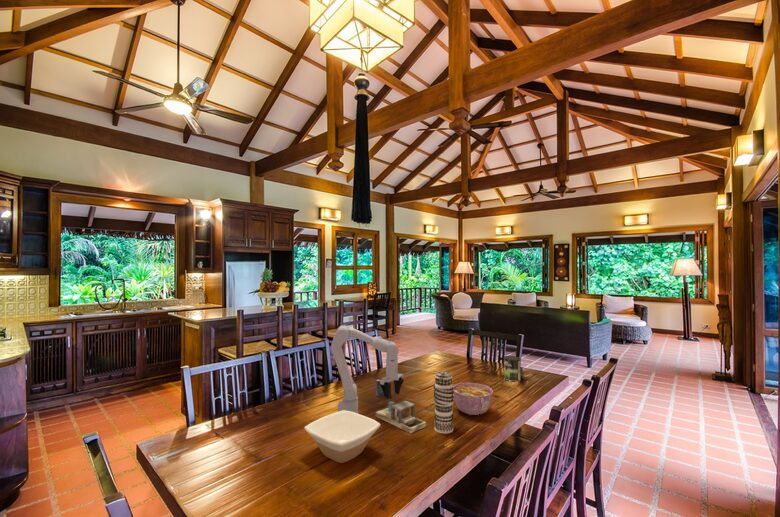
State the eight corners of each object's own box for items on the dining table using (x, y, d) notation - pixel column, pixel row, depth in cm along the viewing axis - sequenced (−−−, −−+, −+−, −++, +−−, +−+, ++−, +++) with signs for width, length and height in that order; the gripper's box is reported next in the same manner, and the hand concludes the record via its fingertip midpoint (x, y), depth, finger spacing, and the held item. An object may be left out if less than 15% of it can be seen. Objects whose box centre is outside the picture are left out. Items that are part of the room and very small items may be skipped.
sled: (405, 423, 159) (405, 412, 159) (385, 413, 169) (385, 403, 170) (415, 419, 163) (415, 408, 163) (394, 410, 174) (394, 400, 174)
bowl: (343, 432, 155) (343, 407, 156) (386, 450, 140) (386, 423, 140) (298, 454, 137) (298, 426, 137) (341, 478, 122) (342, 447, 122)
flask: (375, 396, 199) (375, 377, 199) (377, 394, 201) (377, 375, 201) (390, 398, 195) (390, 379, 195) (392, 397, 197) (392, 377, 198)
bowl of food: (495, 422, 165) (494, 397, 165) (451, 419, 169) (451, 394, 169) (491, 406, 184) (491, 384, 185) (452, 403, 188) (452, 381, 189)
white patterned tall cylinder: (438, 435, 153) (438, 377, 153) (430, 425, 162) (430, 371, 162) (457, 432, 155) (457, 375, 156) (448, 423, 164) (448, 369, 165)
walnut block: (402, 418, 162) (402, 410, 162) (396, 416, 165) (396, 407, 165) (409, 416, 165) (409, 407, 165) (403, 413, 168) (403, 405, 168)
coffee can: (512, 382, 222) (511, 360, 222) (500, 378, 231) (500, 356, 231) (524, 380, 226) (524, 358, 226) (512, 376, 235) (512, 355, 236)
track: (410, 433, 154) (410, 414, 154) (375, 416, 172) (375, 399, 172) (426, 426, 161) (426, 408, 161) (390, 410, 179) (390, 394, 179)
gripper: (387, 372, 164) (387, 402, 164) (407, 366, 175) (407, 394, 174) (376, 369, 169) (376, 398, 169) (397, 363, 180) (397, 390, 179)
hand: (391, 395), depth 172 cm, fingers open, 7 cm apart
